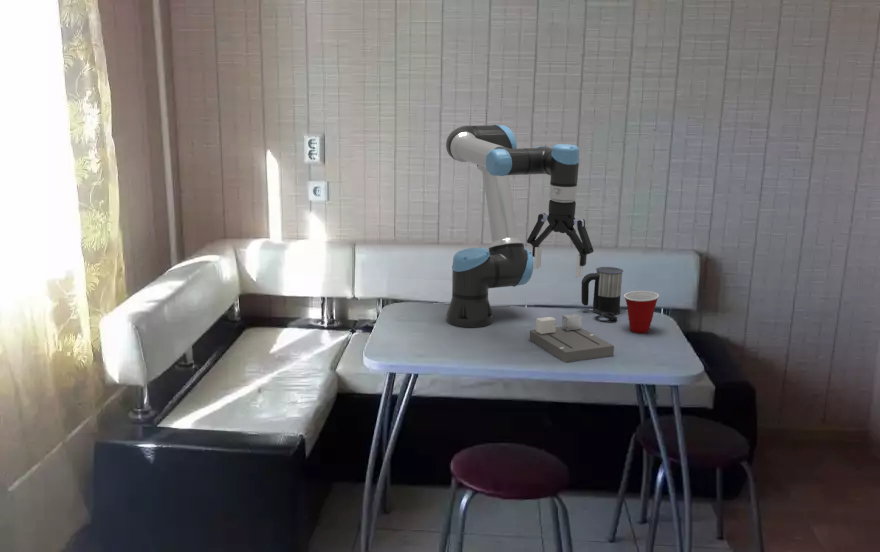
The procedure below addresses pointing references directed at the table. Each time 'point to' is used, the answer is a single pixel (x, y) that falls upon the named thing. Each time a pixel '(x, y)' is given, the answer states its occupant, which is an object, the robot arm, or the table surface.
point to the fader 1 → (545, 325)
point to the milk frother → (604, 291)
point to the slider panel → (572, 344)
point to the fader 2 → (571, 322)
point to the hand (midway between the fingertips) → (557, 272)
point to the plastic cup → (640, 309)
